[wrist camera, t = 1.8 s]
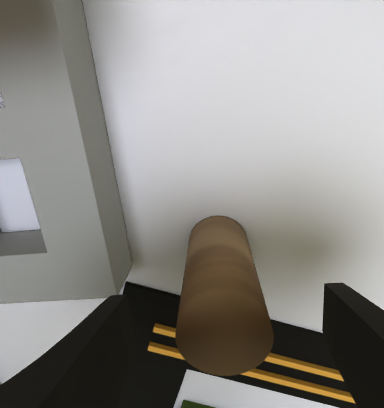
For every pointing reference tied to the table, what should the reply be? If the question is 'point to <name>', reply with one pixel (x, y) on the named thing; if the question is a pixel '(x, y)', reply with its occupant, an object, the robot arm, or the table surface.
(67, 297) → the socket plate
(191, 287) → the peg
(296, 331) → the sushi
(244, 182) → the table surface
